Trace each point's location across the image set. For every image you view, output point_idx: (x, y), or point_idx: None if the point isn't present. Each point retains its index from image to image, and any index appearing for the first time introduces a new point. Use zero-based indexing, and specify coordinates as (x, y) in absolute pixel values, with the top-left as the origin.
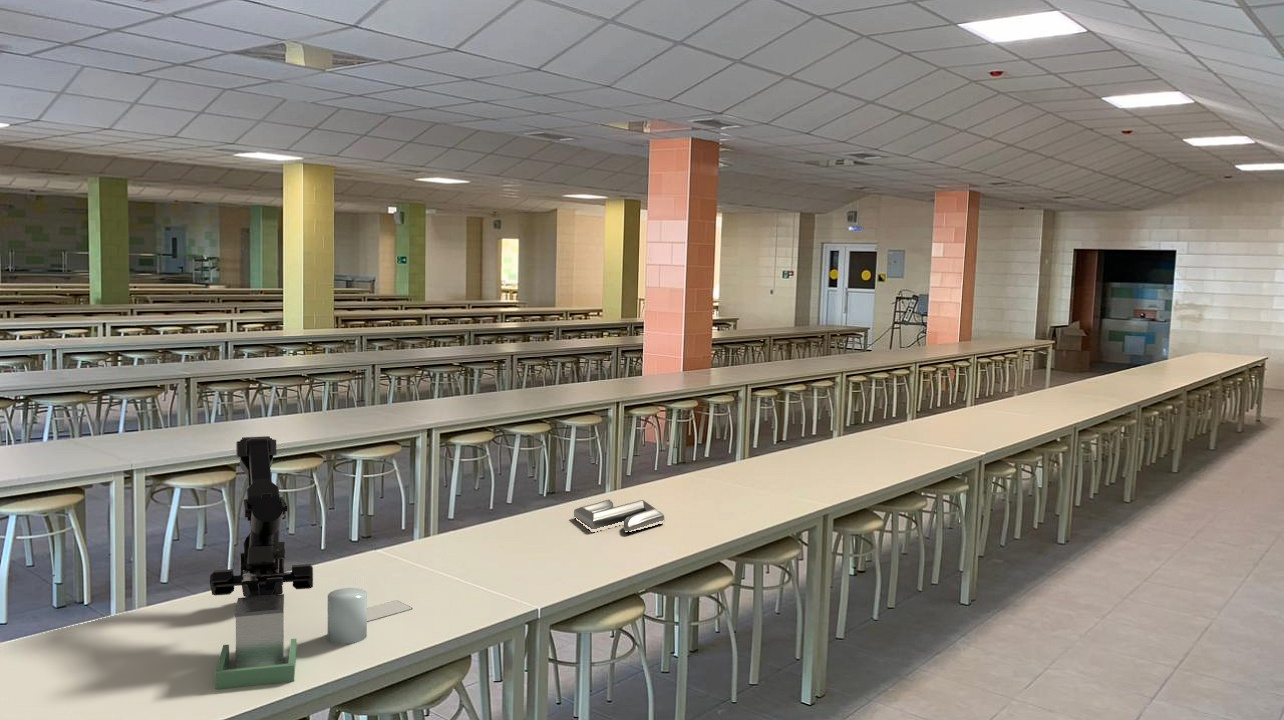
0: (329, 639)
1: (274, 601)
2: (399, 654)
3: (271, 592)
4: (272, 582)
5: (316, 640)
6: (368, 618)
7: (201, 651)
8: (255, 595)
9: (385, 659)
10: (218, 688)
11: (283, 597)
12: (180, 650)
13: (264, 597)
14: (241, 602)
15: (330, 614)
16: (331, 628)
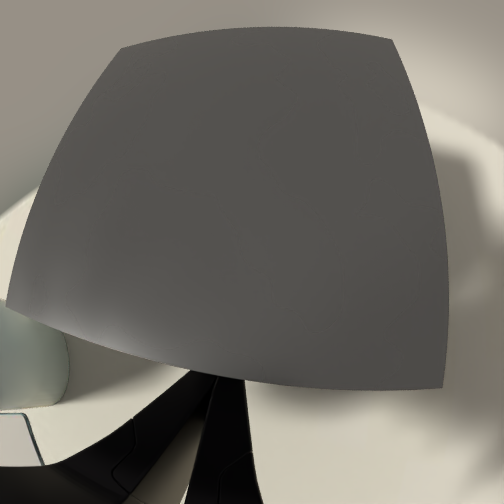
0: (63, 351)
1: (99, 149)
2: (12, 214)
3: (78, 459)
4: (5, 486)
5: (91, 381)
6: (4, 427)
7: (428, 434)
8: (224, 500)
9: (31, 199)
10: None
11: (27, 223)
12: (469, 447)
13: (134, 289)
14: (402, 205)
15: (4, 339)
16: (36, 337)
